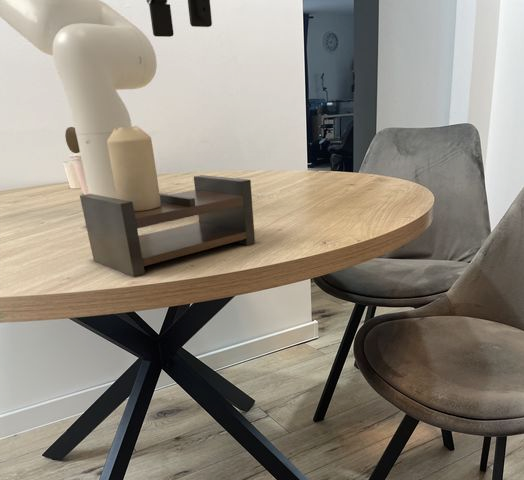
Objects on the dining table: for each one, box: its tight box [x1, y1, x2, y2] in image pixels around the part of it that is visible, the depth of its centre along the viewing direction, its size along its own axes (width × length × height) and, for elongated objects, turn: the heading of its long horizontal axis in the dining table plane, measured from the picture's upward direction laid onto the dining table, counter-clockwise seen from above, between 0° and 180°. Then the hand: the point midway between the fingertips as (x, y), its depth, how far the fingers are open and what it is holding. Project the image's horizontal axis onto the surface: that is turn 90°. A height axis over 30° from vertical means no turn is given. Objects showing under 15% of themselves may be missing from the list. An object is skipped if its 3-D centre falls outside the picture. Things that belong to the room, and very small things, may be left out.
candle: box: [107, 125, 161, 211], centre depth 66 cm, size 6×6×10 cm
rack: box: [79, 174, 256, 278], centre depth 72 cm, size 12×20×9 cm, turn 131°
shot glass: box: [62, 160, 82, 189], centre depth 145 cm, size 7×7×7 cm
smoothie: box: [69, 152, 89, 195], centre depth 130 cm, size 6×6×14 cm
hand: (181, 31), depth 72 cm, fingers open, 9 cm apart
